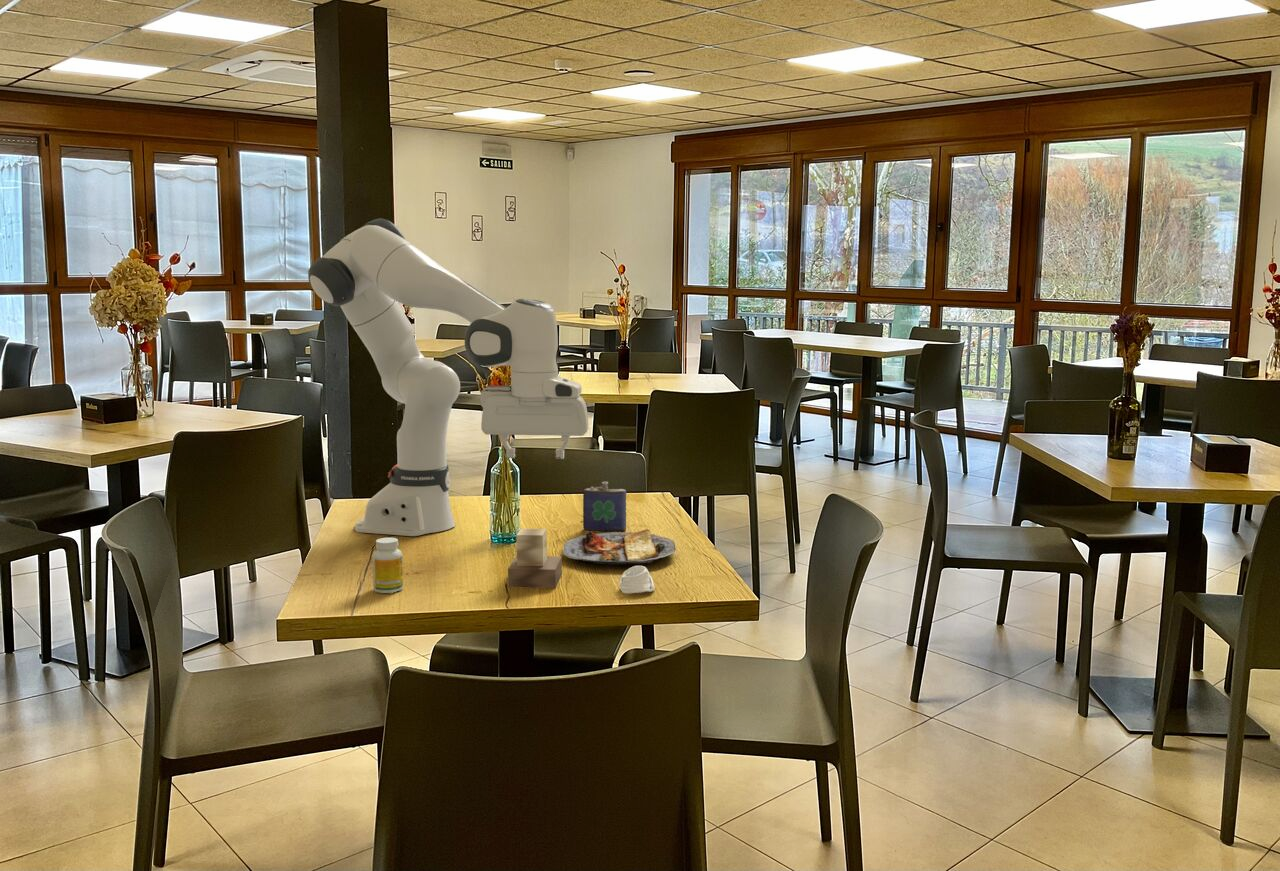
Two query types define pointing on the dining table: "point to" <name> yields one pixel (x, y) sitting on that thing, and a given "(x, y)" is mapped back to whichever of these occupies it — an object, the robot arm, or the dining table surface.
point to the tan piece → (531, 547)
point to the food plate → (619, 547)
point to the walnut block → (535, 574)
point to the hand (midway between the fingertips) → (535, 458)
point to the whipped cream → (636, 580)
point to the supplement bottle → (387, 566)
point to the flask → (604, 509)
